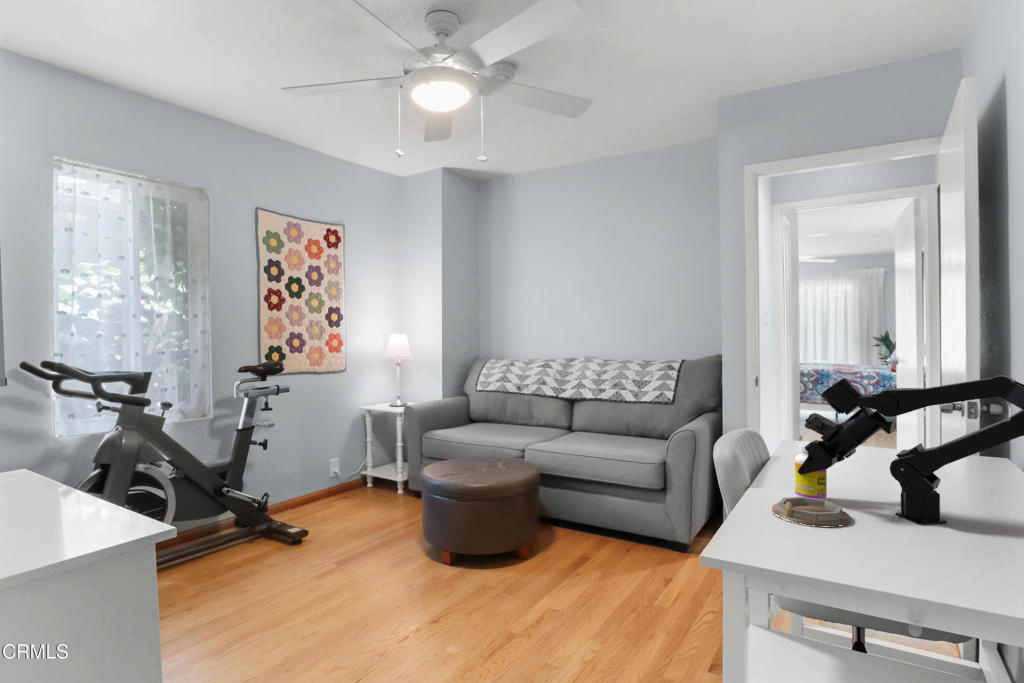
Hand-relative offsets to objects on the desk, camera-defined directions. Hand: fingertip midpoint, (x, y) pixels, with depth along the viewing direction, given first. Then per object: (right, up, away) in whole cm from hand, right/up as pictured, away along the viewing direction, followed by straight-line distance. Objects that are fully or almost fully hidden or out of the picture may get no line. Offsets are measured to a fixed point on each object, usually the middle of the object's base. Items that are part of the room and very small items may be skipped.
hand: (804, 470), depth 133 cm
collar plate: (-6, -7, -13) cm, 16 cm away
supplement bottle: (+1, -7, -1) cm, 7 cm away
